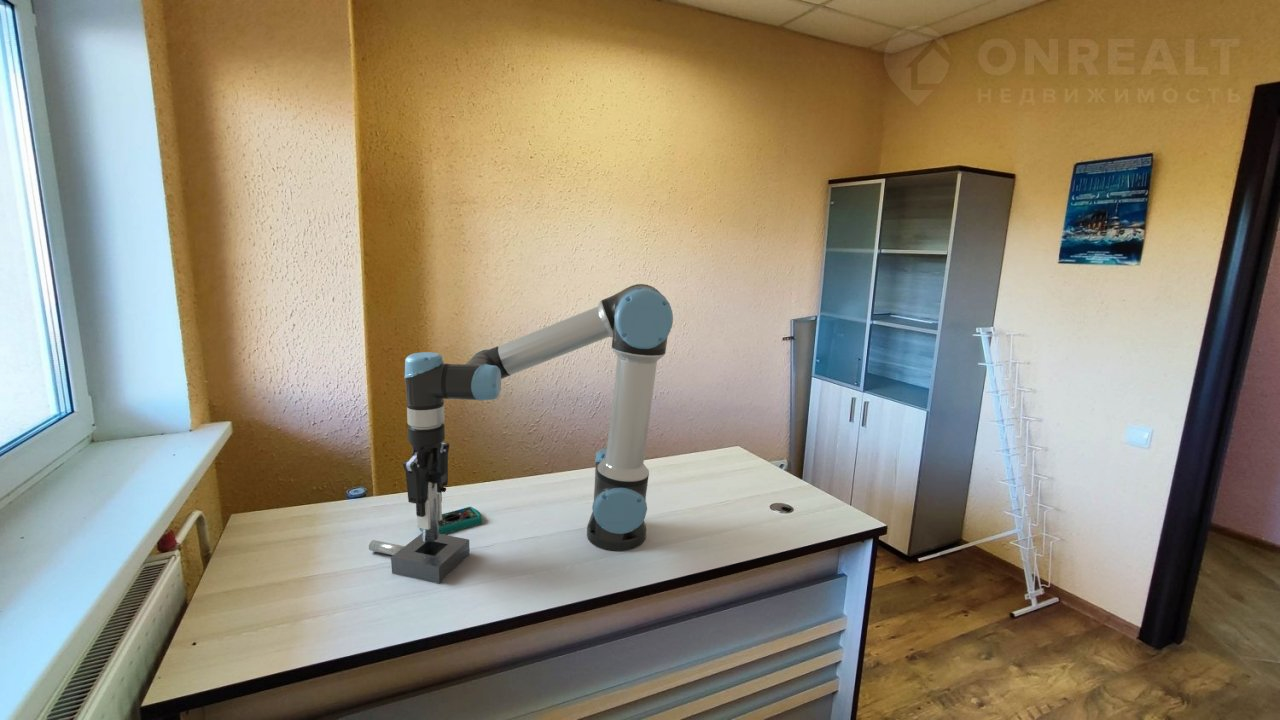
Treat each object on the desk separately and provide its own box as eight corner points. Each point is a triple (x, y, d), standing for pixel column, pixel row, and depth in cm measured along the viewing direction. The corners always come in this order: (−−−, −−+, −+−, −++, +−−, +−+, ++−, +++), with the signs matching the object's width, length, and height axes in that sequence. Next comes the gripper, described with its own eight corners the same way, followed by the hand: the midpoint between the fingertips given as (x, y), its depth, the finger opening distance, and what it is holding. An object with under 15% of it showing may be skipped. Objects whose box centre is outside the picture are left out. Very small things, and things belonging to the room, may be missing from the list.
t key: (450, 536, 130) (448, 471, 126) (441, 544, 126) (438, 478, 123) (420, 530, 132) (417, 466, 128) (410, 538, 128) (406, 472, 125)
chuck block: (469, 554, 135) (469, 539, 134) (439, 583, 123) (438, 567, 122) (390, 539, 140) (389, 524, 139) (354, 565, 129) (352, 549, 128)
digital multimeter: (484, 525, 150) (484, 514, 149) (427, 541, 141) (426, 530, 140) (473, 514, 155) (473, 504, 155) (417, 529, 146) (417, 518, 146)
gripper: (434, 411, 132) (437, 504, 137) (384, 434, 116) (390, 538, 121) (462, 415, 130) (465, 509, 135) (416, 438, 115) (421, 544, 120)
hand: (430, 523), depth 128 cm, fingers closed on t key, 4 cm apart
